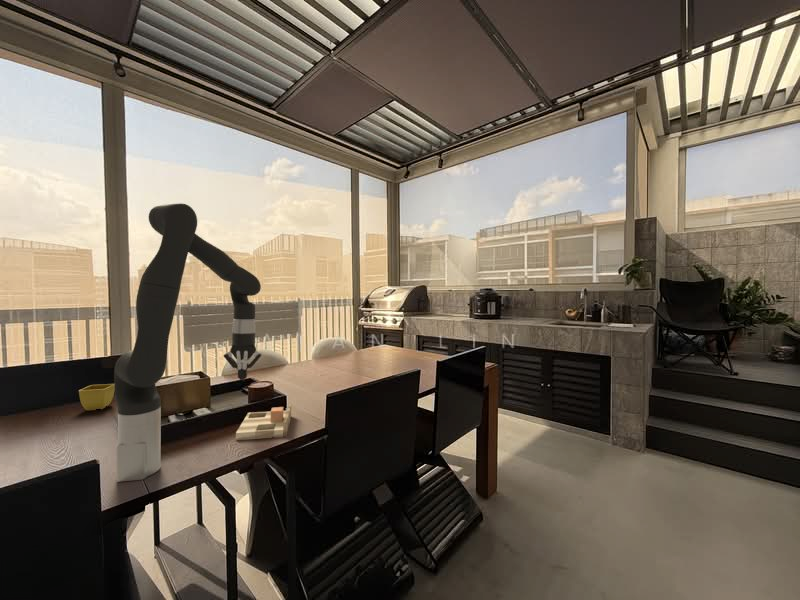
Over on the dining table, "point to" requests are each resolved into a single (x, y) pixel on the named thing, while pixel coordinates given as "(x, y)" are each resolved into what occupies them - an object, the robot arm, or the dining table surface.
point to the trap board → (263, 426)
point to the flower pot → (96, 396)
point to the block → (277, 414)
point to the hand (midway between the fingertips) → (242, 379)
